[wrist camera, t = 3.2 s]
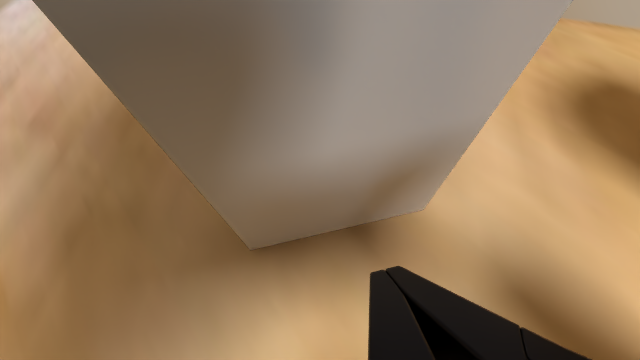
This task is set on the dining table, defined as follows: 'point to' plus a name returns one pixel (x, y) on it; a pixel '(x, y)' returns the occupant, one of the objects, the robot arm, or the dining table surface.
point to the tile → (309, 96)
